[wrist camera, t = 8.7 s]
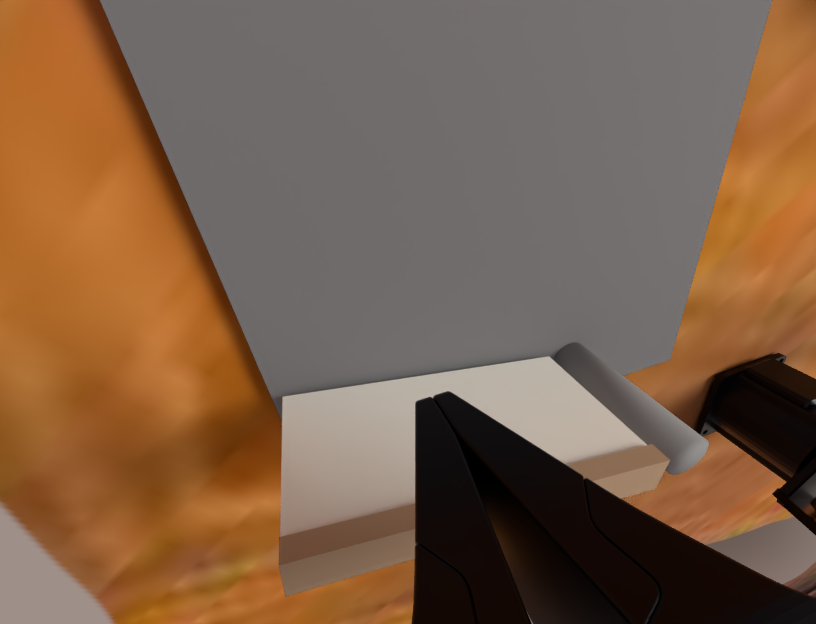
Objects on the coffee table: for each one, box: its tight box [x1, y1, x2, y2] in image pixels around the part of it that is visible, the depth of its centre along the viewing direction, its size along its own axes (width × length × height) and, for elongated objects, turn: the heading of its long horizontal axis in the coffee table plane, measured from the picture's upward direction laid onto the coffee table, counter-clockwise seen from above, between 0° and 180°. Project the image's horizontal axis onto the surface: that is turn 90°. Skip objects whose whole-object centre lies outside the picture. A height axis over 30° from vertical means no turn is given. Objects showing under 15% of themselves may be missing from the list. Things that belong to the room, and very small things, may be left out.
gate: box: [279, 356, 670, 596], centre depth 15 cm, size 14×2×7 cm, turn 88°
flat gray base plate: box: [100, 0, 772, 475], centre depth 14 cm, size 22×24×8 cm
